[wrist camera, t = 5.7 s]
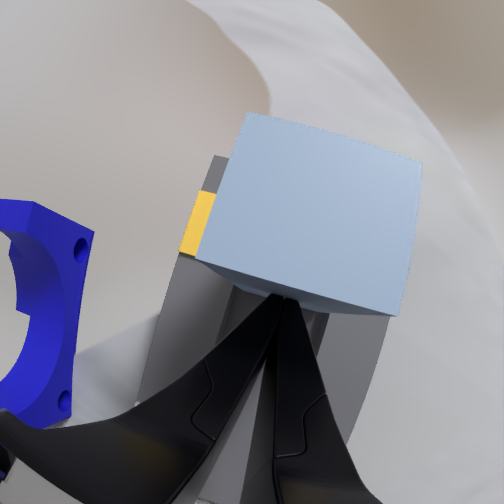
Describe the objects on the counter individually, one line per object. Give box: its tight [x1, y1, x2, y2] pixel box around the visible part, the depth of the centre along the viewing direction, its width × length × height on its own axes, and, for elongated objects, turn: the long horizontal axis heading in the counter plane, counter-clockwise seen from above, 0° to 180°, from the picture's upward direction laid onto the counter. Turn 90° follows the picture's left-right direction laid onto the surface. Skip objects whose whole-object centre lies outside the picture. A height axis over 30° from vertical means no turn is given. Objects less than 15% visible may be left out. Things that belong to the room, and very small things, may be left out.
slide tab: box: [195, 112, 423, 316], centre depth 10 cm, size 3×4×10 cm
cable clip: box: [0, 199, 95, 429], centre depth 14 cm, size 12×4×6 cm, turn 171°
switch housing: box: [134, 155, 390, 504], centre depth 14 cm, size 18×10×3 cm, turn 163°
